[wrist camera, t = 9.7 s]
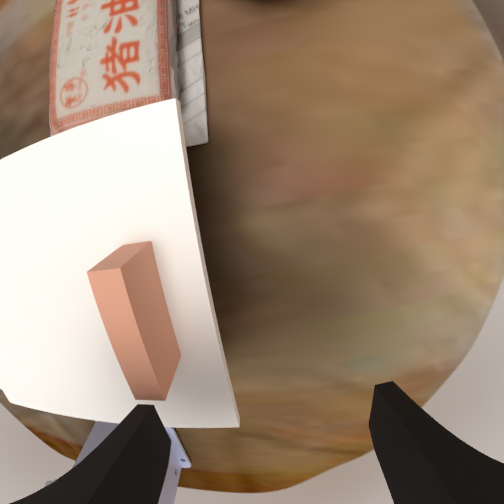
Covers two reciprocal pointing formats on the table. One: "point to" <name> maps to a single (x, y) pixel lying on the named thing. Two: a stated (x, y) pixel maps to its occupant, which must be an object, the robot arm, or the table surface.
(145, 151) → the carton lid
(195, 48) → the packaged product
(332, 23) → the table surface
